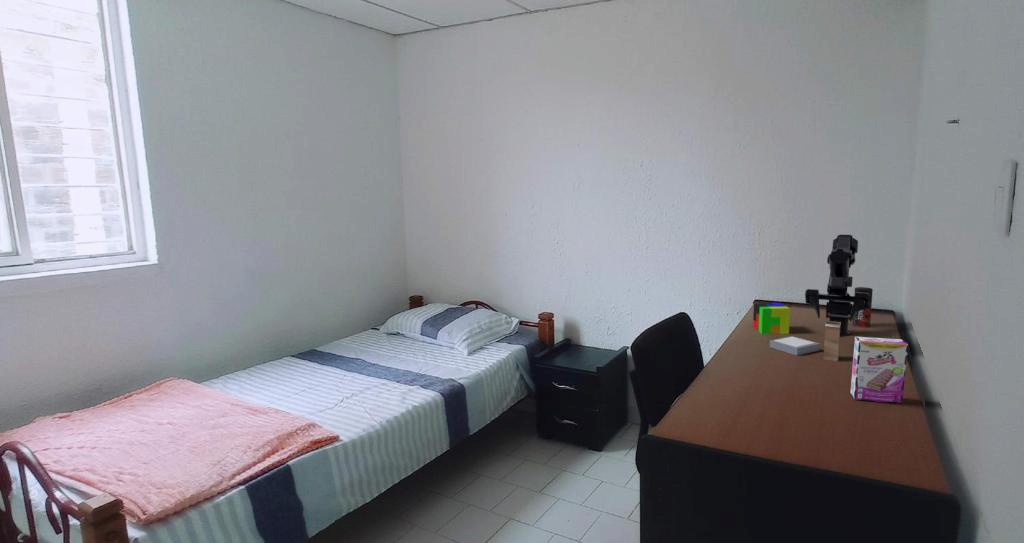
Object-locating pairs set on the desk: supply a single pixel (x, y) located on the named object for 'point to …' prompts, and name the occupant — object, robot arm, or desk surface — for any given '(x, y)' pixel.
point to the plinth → (794, 345)
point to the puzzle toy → (771, 318)
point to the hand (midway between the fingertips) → (834, 319)
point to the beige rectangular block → (832, 340)
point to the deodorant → (864, 315)
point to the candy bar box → (878, 369)
